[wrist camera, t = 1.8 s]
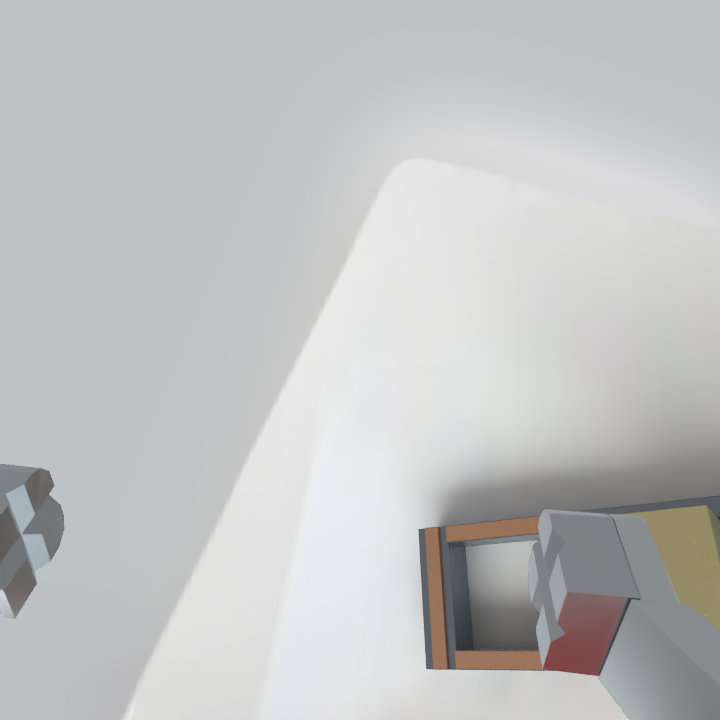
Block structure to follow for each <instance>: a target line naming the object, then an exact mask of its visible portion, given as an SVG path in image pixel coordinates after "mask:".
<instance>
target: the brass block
mask: <svg viewBox="0 0 720 720" xmlns="http://www.w3.org/2000/svg"><path fill="white" fill-rule="evenodd" d="M619 515H633V516H641V517H642V518H643V519H644V520H645V521H646V522H647V525H648V527H649V530H650V532H651V534H652V537H653V539H654V542H655V544H656V547H657V549H658V552H659V554H660V557H661V559H662V561H663V564H664V566H665V569H666V571H667V574H668V576H669V579H670V581H671V584H672V586H673V588H674V591H675V593H676V596H677V598H678V601H679V603H680V604H687V605H691V606H692V607H693V608H694V609H695V610H696V611H697V612H699V613H700V614H701V615H702V616H703V617H704V618H705V619H707V620H708V621H709V622H710V623H711V624H712V625H713V626H714V627H716V628H717V629H718V630H719V631H720V520H719V519H718V518H717V517H716V516H715V515H714V513H713V512H712V511H711V510H710V509H709V508H708V507H707V506H706V505H703V506H694V507H685V508H675V509H666V510H656V511H647V512H638V513H628V514H619Z"/></svg>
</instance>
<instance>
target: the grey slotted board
mask: <svg viewBox="0 0 720 720" xmlns="http://www.w3.org/2000/svg"><path fill="white" fill-rule="evenodd" d="M703 505H706V506H707V507H708V508H709V509H710V510H711V511H712V512H713V513H714V515H715V516H716V517H717V518H718V519H719V520H720V496H712V497H703V498H695V499H686V500H677V501H668V502H659V503H650V504H641V505H632V506H623V507H614V508H605V509H596V510H588V511H579V512H590V513H603V514H628V513H638V512H647V511H656V510H666V509H675V508H685V507H694V506H703ZM539 519H540V516H534V517H525V518H516V519H507V520H498V521H489V522H481V523H472V524H463V525H454V526H445V527H431V528H425V529H419V545H420V563H421V580H422V598H423V616H424V634H425V652H426V669H439V670H448V669H457V670H539V671H555V670H547V669H542V663H541V657H540V652H539V648H530V649H473V640H472V628H471V616H470V604H469V592H468V580H467V568H466V556H465V546H475V545H485V544H496V543H507V542H518V541H528V540H539V539H540V536H539V531H538V523H539Z"/></svg>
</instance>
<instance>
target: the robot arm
mask: <svg viewBox="0 0 720 720" xmlns="http://www.w3.org/2000/svg"><path fill="white" fill-rule="evenodd" d="M53 487H54V483H53V480H52V478H51V475H50V472H49V471H47V470H45V469H41V468H33V467H24V466H15V465H5V464H0V618H16V616H17V615H18V613H19V611H20V610H21V608H22V607H23V605H24V603H25V602H26V600H27V598H28V597H29V595H30V593H31V592H32V591H33V589H34V587H35V586H36V584H37V582H36V576H35V571H36V570H38V569H39V568H41V567H42V566H43V565H45V564H47V563H48V562H50V561H51V560H52V558H53V556H54V555H55V553H56V551H57V549H58V548H59V545H60V542H61V538H62V535H63V531H64V515H63V511H62V508H61V505H60V504H59V503H58V502H56V501H55V500H54V499H53V498H52V497H51V496H50V495H49V493H50V492H51V490H52V489H53ZM538 531H539V536H540V540H539V541H538V542H537V543H535V544H534V545H533V546H532V550H531V555H530V560H529V573H528V580H529V592H530V599H531V605H532V606H533V607H534V608H535V609H536V610H537V611H538V612H539V613H540V616H539V619H538V623H537V626H536V635H537V640H538V646H539V652H540V657H541V663H542V669H547V670H555V671H563V672H571V673H579V674H587V675H595V676H599V680H600V681H601V683H602V684H603V685H604V687H605V688H606V689H607V691H608V692H609V693H610V695H611V696H612V697H613V699H614V700H615V701H616V703H617V704H618V705H619V707H620V708H621V709H622V710H623V712H624V713H625V714H626V716H627V717H628V718H629V720H720V631H719V630H718V629H717V628H716V627H714V626H713V625H712V624H711V623H710V622H709V621H708V620H707V619H705V618H704V617H703V616H702V615H701V614H700V613H699V612H697V611H696V610H695V609H694V608H693V607H692V606H691V605H687V604H680V603H679V601H678V598H677V596H676V593H675V591H674V588H673V586H672V584H671V581H670V579H669V576H668V574H667V571H666V569H665V566H664V564H663V561H662V559H661V557H660V554H659V552H658V549H657V547H656V544H655V542H654V539H653V537H652V534H651V532H650V530H649V527H648V525H647V522H646V521H645V520H644V519H643V518H642V517H641V516H633V515H619V514H603V513H590V512H576V511H562V510H548V509H544V510H543V512H542V514H541V516H540V519H539V523H538Z"/></svg>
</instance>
